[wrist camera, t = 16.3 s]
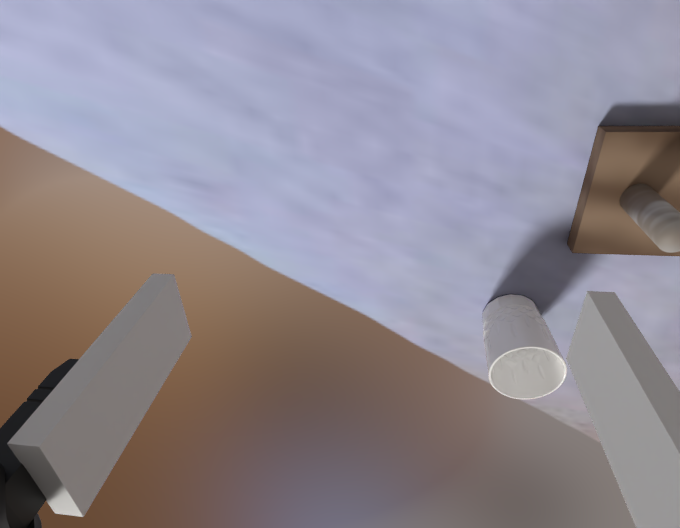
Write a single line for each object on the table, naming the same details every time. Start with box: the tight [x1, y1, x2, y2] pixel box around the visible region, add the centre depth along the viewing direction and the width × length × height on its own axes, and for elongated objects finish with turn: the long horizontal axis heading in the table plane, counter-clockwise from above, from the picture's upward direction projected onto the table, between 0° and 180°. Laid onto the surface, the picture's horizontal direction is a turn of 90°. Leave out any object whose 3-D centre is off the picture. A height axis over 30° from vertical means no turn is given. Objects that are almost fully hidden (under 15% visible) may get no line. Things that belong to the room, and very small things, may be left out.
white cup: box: [482, 294, 567, 399], centre depth 52 cm, size 8×8×10 cm
